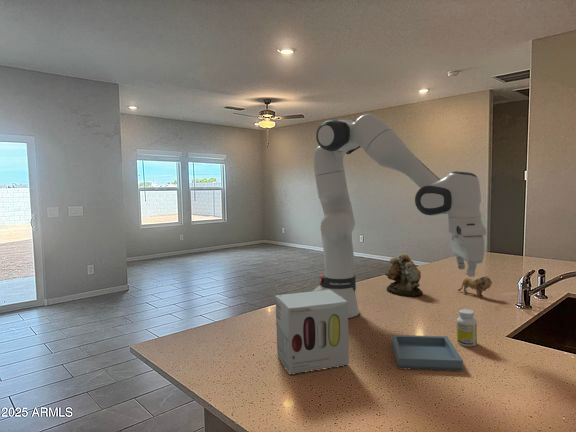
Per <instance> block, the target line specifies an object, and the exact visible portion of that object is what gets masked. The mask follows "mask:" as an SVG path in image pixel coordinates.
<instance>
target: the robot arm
mask: <svg viewBox="0 0 576 432" xmlns="http://www.w3.org/2000/svg"><path fill="white" fill-rule="evenodd" d="M315 134H316V135H315V137H316V142H317V144H318V146H317V147H316V148H315V149H314V152H313V171H314V177H315V183H316V189H317V196H318V200H319V201H320V204H321V208H322V212H323V213H324V214H323V215H324V217H323V218H322V220H321V221H320V234H321V235H320V236H321V242H322V243H321V244H322V249H323V257H324V274H320V275H319V277H318V279H319V285H318V286H317V287H316V288H315V289H313V290H312V291H318V290H327V289H330V290H331V291H333V292H334V293H336V294H337V295H339V296H340V297H342V298H343V299H345V300H346V301H348V319H350V318H353V317H356V316H359V314H360V309H359V305H358V301H357V294H356V291H357V279H356V278H357V277H356V275H355V255H354V246H353V234H352V233H353V230H354V229H355V225H356V221H355V217H354V212H353V208H352V202H351V198H350V194H349V191H348V185H347V178H346V172H345V166H344V157H345V155H346V154H347V155H351V154H352V153H353V152H355V151H357V150H358V149H360V148H361V149H362V150H363V151H364V152H365V153H366V154H367V156H369V158H370V159H371V160H373V161H374V162H375V163H377V165H380V166H381V167H382V168H386V169H391V170H394V171H397V172H400V173H402V174H404V175H406V176H407V177H408V178H409V179H410V180H411V181H412V182H414V183H415V185H416V186H417V187H418V188H419V189H418V191H417V192H416V193H415V195H414V196H415V197H414V204H415V207H416V209H417V210H418V211H419V212H420V213H421V214H423V215H425V216H429V217H431V216H439V215H445V214H447V215H448V216H447V217H448V220H447V221H448V232H449V233H450V244H449V245H450V251H451V252H452V253H453V254H455V259H456V263H457V269H459V270H461V271H462V270H465V269H466V265H467V269H466V276H468V278H470V277H471V278H472V277H473V278H474V277H475V276H476V268H477V264H482V263H483V262H484V258H485V237H484V236H486V235H487V230H486V229H487V228H486V227H485V226H484V223H483V221H482V213H481V209H480V206H481V201H482V199H481V197H482V196H481V195H482V193H481V185H480V180H479V177H478V176H477V175H476V174H475V173H473V172H468V171H451V172H449V173H448V174H447V175H446V176H445V177H443V178H440V177H438V176H437V175H436V174H435V173H434V172H433V171H431V170H430V168H429V167H428V166H426V165H425V164H424V163H423V162H422V161H421V160H420V159H419V158H418V157H417V156H416V155H415V154H414V153H413V152H412V150H410V148H409V147H408V145H406V144H405V142H403V140H402V139H401V137H400V136H399V135H398V134H397V133H396V132H395V131H394V130H393V129H392V128H391V127H390V126H389V125H388V124H387V123H385V122H384V121H383V120H382V119H381V118H379V117H378V116H376V115H374V114H372V113H365V114H362V115H360V116H359V117H357V119H356V120H353V119H352V120H350V119H345V118H344V119H343V118H342V119H328V120H326V121H323V122H322V123H321V124H320V125H318V127H317V130H316V133H315ZM465 261H466V263H465Z"/></svg>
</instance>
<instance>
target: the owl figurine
mask: <svg viewBox="0 0 576 432" xmlns="http://www.w3.org/2000/svg"><path fill="white" fill-rule="evenodd" d="M389 264H390V265H389V266H388V269H387V272H385V274H384V275H385V276H387V279H388V280H392V281H393V282H390V284H389V285H388V286H386V291H387V293H391V294H392V295H396V296H399V297H405V298H406V297H409V298H412V297H415V298H417V297H421V296H423V295H424V292H423V290H421V289H420V288H419V287H420V283H419V282H420V280H421V276H422V275H421V274H422V273H421V272H422V271H420V269H419V268H418V267H417V266H416V264H415V263H414V261H413V260H411V258H410V256H409V255H408V254H406V253H401V254H400V255H399V257H397V256H394V257H391V258H390V260H389Z"/></svg>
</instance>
